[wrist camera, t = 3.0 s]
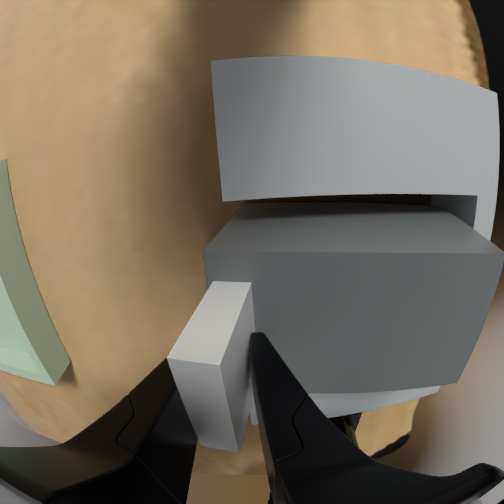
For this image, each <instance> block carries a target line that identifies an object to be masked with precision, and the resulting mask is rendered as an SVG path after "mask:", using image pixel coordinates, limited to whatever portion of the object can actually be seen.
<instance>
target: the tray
mask: <svg viewBox="0 0 504 504" xmlns="http://www.w3.org/2000/svg"><path fill="white" fill-rule="evenodd" d="M70 362H71V360H70V358H69V356H68V354H67V352H66V350H65V348H64V346H63V344H62V342H61V340H60V338H59V336H58V334H57V332H56V330H55V328H54V326H53V324H52V321H51V319H50V317H49V315H48V312H47V310H46V307H45V305H44V303H43V300H42V298H41V295H40V292H39V290H38V287H37V285H36V282H35V279H34V276H33V273H32V270H31V267H30V264H29V261H28V258H27V255H26V252H25V248H24V245H23V241H22V238H21V234H20V230H19V226H18V222H17V218H16V214H15V209H14V204H13V199H12V194H11V189H10V183H9V177H8V170H7V162H6V159H5V160H1V161H0V370H2V371H5V372H8V373H11V374H14V375H17V376H21V377H24V378H27V379H31V380H35V381H38V382H42V383H46V384H50V385H54V386H56V384H57V383H58V381H59V379H60V378H61V376H62V375H63V373H64V371H65V370H66V368H67V367H68V365H69V363H70Z"/></svg>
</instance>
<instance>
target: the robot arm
mask: <svg viewBox="0 0 504 504" xmlns="http://www.w3.org/2000/svg"><path fill="white" fill-rule="evenodd" d="M249 355H250V367H251V376H252V386H253V395H254V403H255V409H256V414H257V420H258V426H259V431H260V437H261V443H262V448H263V454H264V459H265V464H266V470H267V475H268V480H269V485H270V490H271V493H270V499H269V501H268V504H482V502H481V500H480V497H481V496H483V495H484V494H486V493H487V492H488V491H490V490H491V489H492V488H494V487H495V486H496V485H497V484H499V483H500V482H501V481H502V480H504V471H503V470H501V469H500V468H498V467H496V466H492V465H489V464H485V463H479V464H477V465H474V466H472V467H470V468H468V469H466V470H465V471H463V472H461V473H458V474H455V475H452V476H443V477H438V476H430V475H426V474H421V473H417V472H413V471H408V470H405V469H401V468H397V467H393V466H390V465H386V464H382V463H380V462H378V461H376V460H374V459H372V458H370V457H369V456H368V455H366V454H365V453H364V452H363V451H362V450H360V449H359V447H358V443H357V439H356V436H355V431H356V428H357V425H358V422H359V420H360V417H361V414H362V412H360V413H354V414H349V415H343V416H338V417H331V418H327V417H326V416H325V415H324V414H323V412H322V411H321V410H320V409H319V408H318V406H317V405H316V404H315V403H314V401H313V400H312V398H311V397H310V396H309V395H308V393H307V392H306V391H305V389H304V388H303V387H302V385H301V384H300V382H299V381H298V380H297V378H296V377H295V376H294V374H293V373H292V371H291V370H290V369H289V367H288V366H287V365H286V363H285V362H284V360H283V359H282V358H281V356H280V355H279V353H278V352H277V351H276V349H275V348H274V346H273V345H272V344H271V342H270V341H269V339H268V338H267V337H266V335H265V334H264V333H263V332H252V333H251V335H250V353H249ZM197 440H198V438H197V435H196V433H195V431H194V428H193V426H192V424H191V421H190V419H189V416H188V414H187V411H186V409H185V406H184V404H183V401H182V399H181V396H180V393H179V391H178V388H177V386H176V383H175V380H174V377H173V375H172V372H171V369H170V366H169V363H168V360H167V358H165V359H164V360H163V361H162V362H161V363H160V364H159V365H158V366H157V367H156V368H155V369H154V370H153V371H152V372H151V373H150V374H149V375H148V376H147V377H145V378H144V379H143V380H142V381H141V382H140V383H139V384H138V385H137V386H136V387H135V388H134V389H133V390H132V391H131V392H129V395H126V396H125V397H124V398H123V399H122V400H121V401H120V402H119V403H117V404H116V405H115V406H114V407H113V408H112V409H111V410H109V411H108V412H107V413H106V414H104V415H103V416H102V417H100V418H99V419H98V420H97V421H95V422H94V423H92V424H91V425H90V426H88V427H87V428H86V429H84V430H83V431H81V432H80V433H79V434H77V435H76V436H74V437H73V438H71V439H70V440H68V441H66V442H64V443H62V444H60V445H55V446H44V447H0V504H186V501H187V495H188V490H189V484H190V478H191V473H192V467H193V462H194V456H195V451H196V445H197ZM497 504H504V499H503V500H502V501H500V502H499V503H497Z"/></svg>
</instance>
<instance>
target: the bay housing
mask: <svg viewBox="0 0 504 504" xmlns="http://www.w3.org/2000/svg"><path fill="white" fill-rule="evenodd" d="M210 62H211V76H212V89H213V102H214V114H215V126H216V137H217V148H218V159H219V169H220V180H221V190H222V199H223V202H225V201H237V200H250V199H264V198H280V197H298V196H320V195H350V194H432V195H431V206H441V207H442V208H444V209H445V210H447V211H448V212H450V213H451V214H453V215H454V216H456V217H457V218H459V219H460V220H462V221H463V222H464V223H466V224H467V225H469V226H470V227H471V228H473V229H474V230H476V231H477V232H478V233H480V234H481V235H482V236H484V237H485V238H486V239H488V240H489V241H490V238H491V233H492V227H493V221H494V213H495V206H496V198H497V187H498V174H499V114H498V101H497V93H495V92H492V91H490V90H487V89H485V88H482V87H479V86H476V85H473V84H470V83H467V82H464V81H461V80H458V79H454V78H451V77H447V76H444V75H440V74H436V73H432V72H428V71H424V70H419V69H415V68H410V67H405V66H400V65H394V64H389V63H382V62H375V61H368V60H360V59H350V58H339V57H323V56H259V57H243V58H232V59H222V60H214V61H210ZM440 386H441V385H440ZM440 386H433V387H425V388H417V389H408V390H398V391H385V392H369V393H330V394H327V393H308V395H309V396H310V397H311V398H312V400H313V401H314V403H315V404H316V405H317V406H318V408H319V409H320V410H321V411H322V412H323V414H324V415H325V416H326V417H327V418H331V417H338V416H343V415H349V414H354V413H360V412H365V411H369V410H374V409H378V408H383V407H387V406H391V405H395V404H399V403H402V402H406V401H410V400H413V399H417V398H420V397H423V396H426V395H430V394H432V393H436V392H438V390H439V388H440ZM249 413H250V420H251V425H258V420H257V414H256V409H255V403H254V396H253V400H252V404H251V408H250V412H249Z"/></svg>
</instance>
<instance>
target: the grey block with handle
mask: <svg viewBox="0 0 504 504" xmlns="http://www.w3.org/2000/svg"><path fill="white" fill-rule="evenodd" d="M203 257H204V264H205V271H206V277H207V284H208V290H207V292H206V293H205V295H204V297H203V298H202V300H201V302H200V303H199V305H198V307H197V308H196V310H195V311H194V313H193V315H192V316H191V318H190V320H189V321H188V323H187V325H186V326H185V328H184V330H183V331H182V333H181V335H180V336H179V338H178V340H177V341H176V343H175V345H174V346H173V348H172V350H171V351H170V353H169V355H168V356H167V360H168V363H169V366H170V369H171V372H172V375H173V377H174V380H175V383H176V386H177V388H178V391H179V393H180V396H181V399H182V401H183V404H184V406H185V409H186V411H187V414H188V416H189V419H190V421H191V424H192V426H193V428H194V431H195V433H196V435H197V438H198V440H199V442H200V445H201V446H203V447H208V448H214V449H219V450H225V451H232V452H238V453H239V452H240V448H241V444H242V440H243V436H244V432H245V428H246V424H247V420H248V416H249V412H250V408H251V404H252V400H253V396H254V395H253V386H252V376H251V367H250V355H249V353H250V335H251V333H252V332H263V333H264V334H265V335H266V337H267V338H268V339H269V341H270V342H271V344H272V345H273V346H274V348H275V349H276V351H277V352H278V353H279V355H280V356H281V358H282V359H283V360H284V362H285V363H286V365H287V366H288V367H289V369H290V370H291V371H292V373H293V374H294V376H295V377H296V378H297V380H298V381H299V382H300V384H301V385H302V387H303V388H304V389H305V391H306V392H307V393H327V394H330V393H369V392H385V391H398V390H408V389H417V388H425V387H433V386H440V385H446V384H452V383H457V382H458V380H459V378H460V376H461V374H462V372H463V370H464V368H465V366H466V364H467V362H468V360H469V358H470V355H471V354H472V351H473V349H474V347H475V345H476V342H477V340H478V337H479V335H480V333H481V330H482V328H483V325H484V323H485V320H486V317H487V315H488V312H489V309H490V306H491V303H492V300H493V297H494V294H495V291H496V288H497V284H498V281H499V278H500V274H501V271H502V267H503V262H504V252H503V251H502V250H500V249H499V248H498V247H497V246H495V245H494V244H493V243H492V242H490V241H489V240H488V239H486V238H485V237H484V236H482V235H481V234H480V233H478V232H477V231H476V230H474V229H473V228H471V227H470V226H469V225H467V224H466V223H464V222H463V221H462V220H460V219H459V218H457V217H456V216H454V215H453V214H451V213H450V212H448V211H447V210H445V209H444V208H442V207H441V206H426V205H407V204H382V203H342V202H272V203H244V204H243V205H242V206H241V207H240V208H239V209H238V211H237V212H236V213H235V214H234V215H233V216H232V217H231V219H230V220H229V221H228V222H227V223H226V224H225V226H224V227H223V228H222V229H221V230H220V231H219V232H218V234H217V235H216V236H215V237H214V238H213V239H212V241H211V242H210V243H209V244H208V245H207V247H206V248H205V249H204V250H203Z"/></svg>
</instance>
